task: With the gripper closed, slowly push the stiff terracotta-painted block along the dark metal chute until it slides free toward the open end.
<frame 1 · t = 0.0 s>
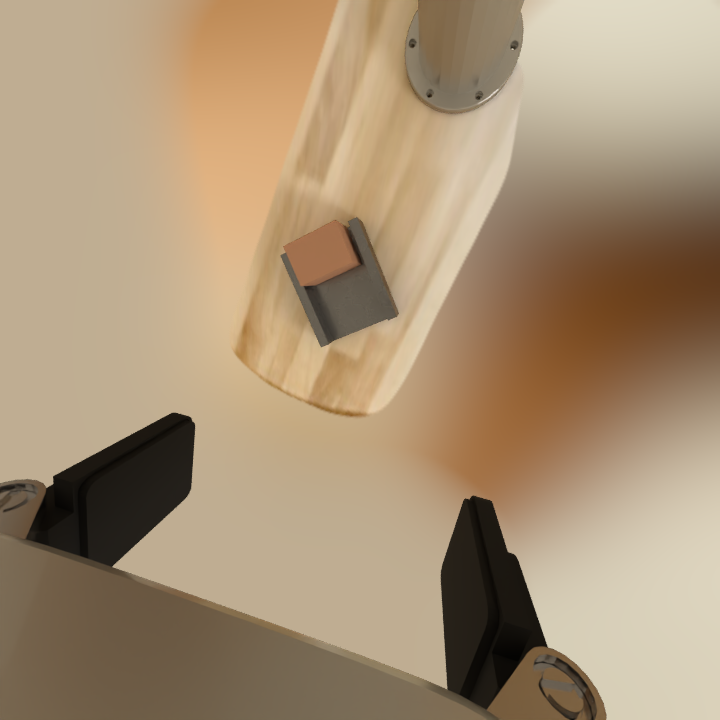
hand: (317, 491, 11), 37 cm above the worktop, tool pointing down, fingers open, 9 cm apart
chute: (344, 285, 46), on the worktop
block: (324, 255, 42), point 4 cm above the worktop, slide at 0.0 cm
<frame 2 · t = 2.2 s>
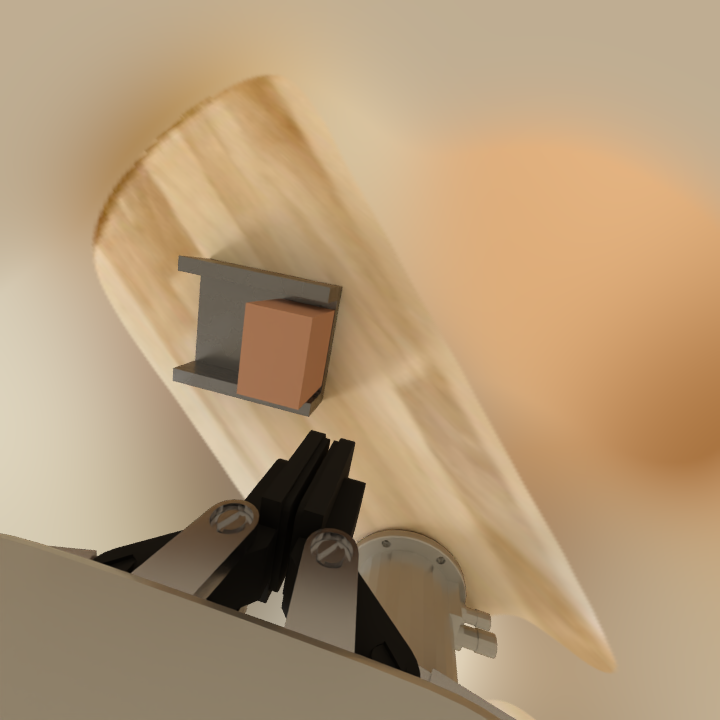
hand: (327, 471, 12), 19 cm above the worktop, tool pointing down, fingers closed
chute: (266, 331, 32), on the worktop
block: (288, 349, 27), point 4 cm above the worktop, slide at 0.0 cm
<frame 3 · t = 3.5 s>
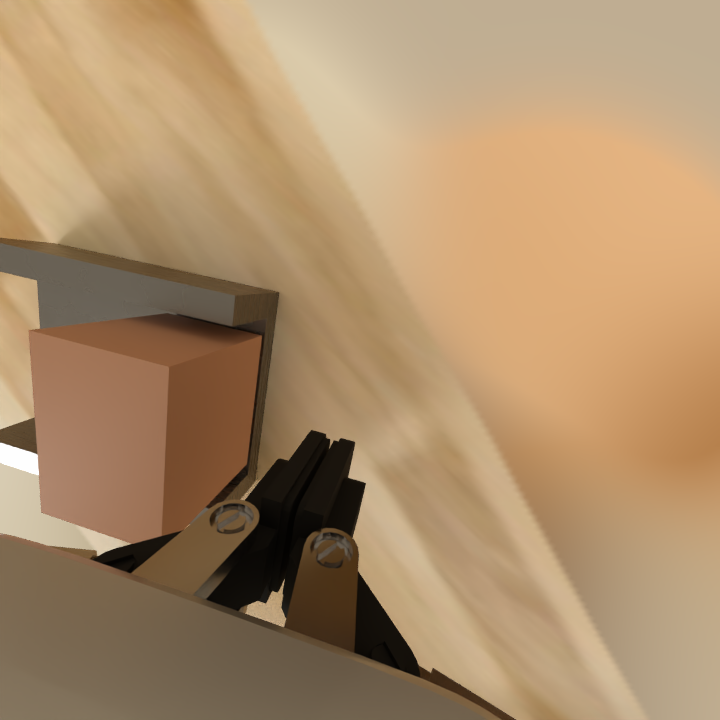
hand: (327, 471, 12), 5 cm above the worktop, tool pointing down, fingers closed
chute: (158, 366, 19), on the worktop
block: (164, 413, 14), point 4 cm above the worktop, slide at 0.0 cm
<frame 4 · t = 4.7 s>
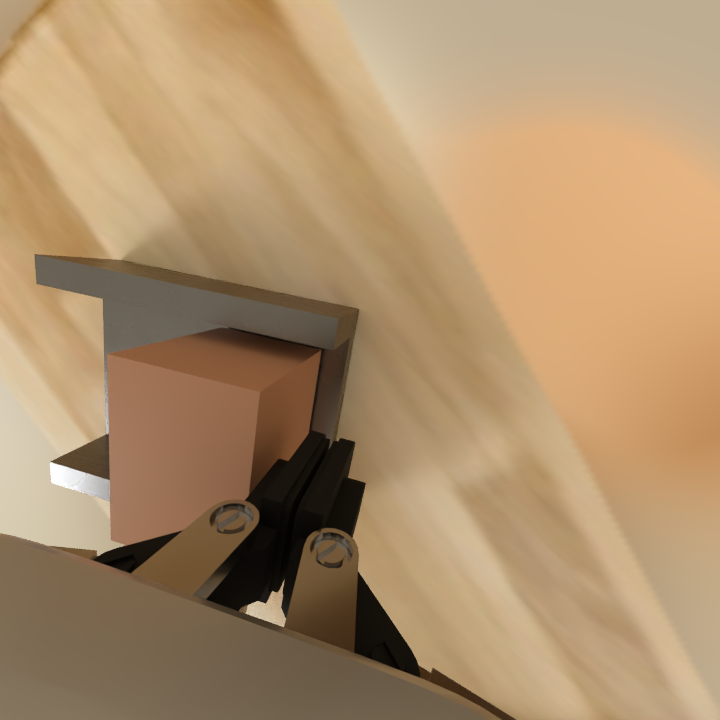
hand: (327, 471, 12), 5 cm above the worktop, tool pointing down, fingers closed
chute: (225, 385, 18), on the worktop
block: (228, 433, 14), point 4 cm above the worktop, slide at 1.2 cm, touching gripper
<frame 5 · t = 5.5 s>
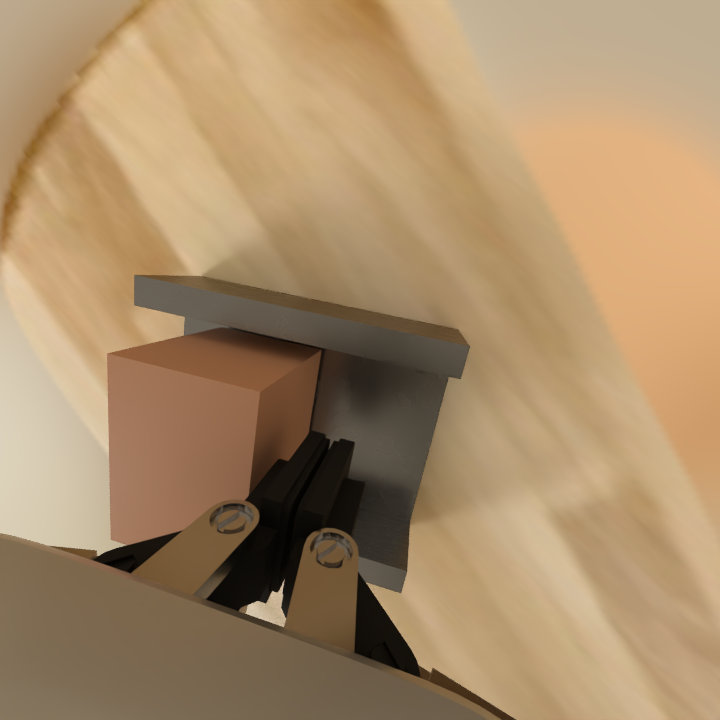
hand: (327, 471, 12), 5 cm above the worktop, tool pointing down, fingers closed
chute: (306, 405, 17), on the worktop
block: (228, 433, 14), point 4 cm above the worktop, slide at 5.8 cm, touching gripper
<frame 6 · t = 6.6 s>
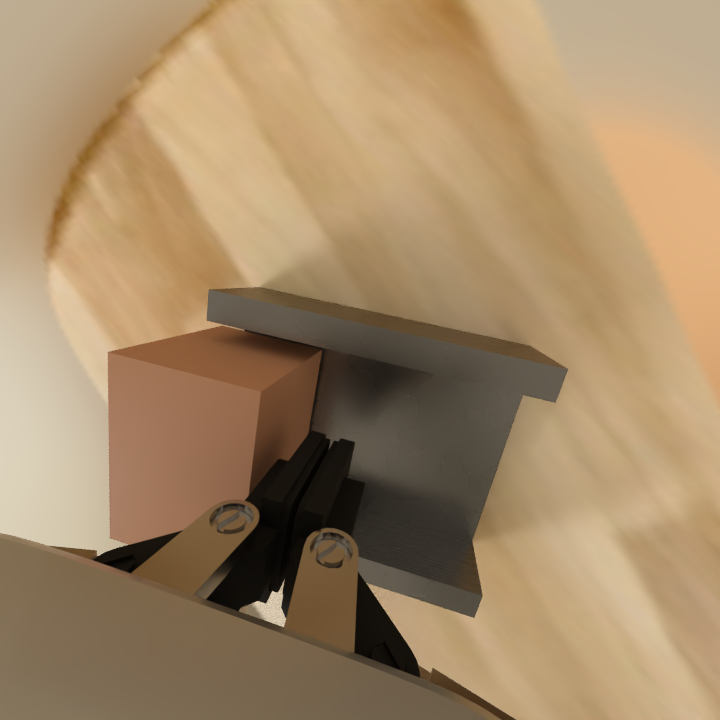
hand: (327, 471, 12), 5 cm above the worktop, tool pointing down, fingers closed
chute: (364, 420, 17), on the worktop
block: (228, 432, 14), point 4 cm above the worktop, slide at 9.0 cm, touching gripper
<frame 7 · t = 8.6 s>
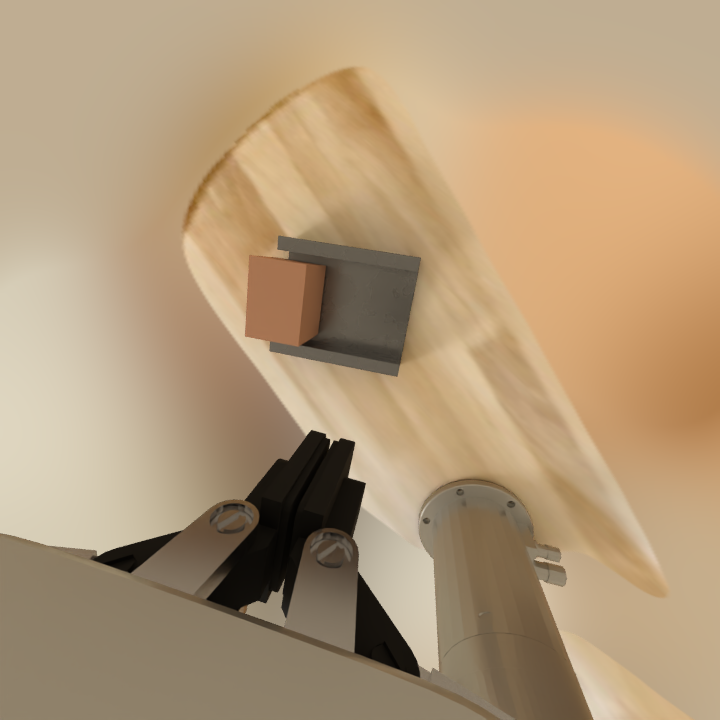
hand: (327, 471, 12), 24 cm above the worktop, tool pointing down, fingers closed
chute: (348, 303, 35), on the worktop
block: (287, 299, 31), point 4 cm above the worktop, slide at 9.0 cm
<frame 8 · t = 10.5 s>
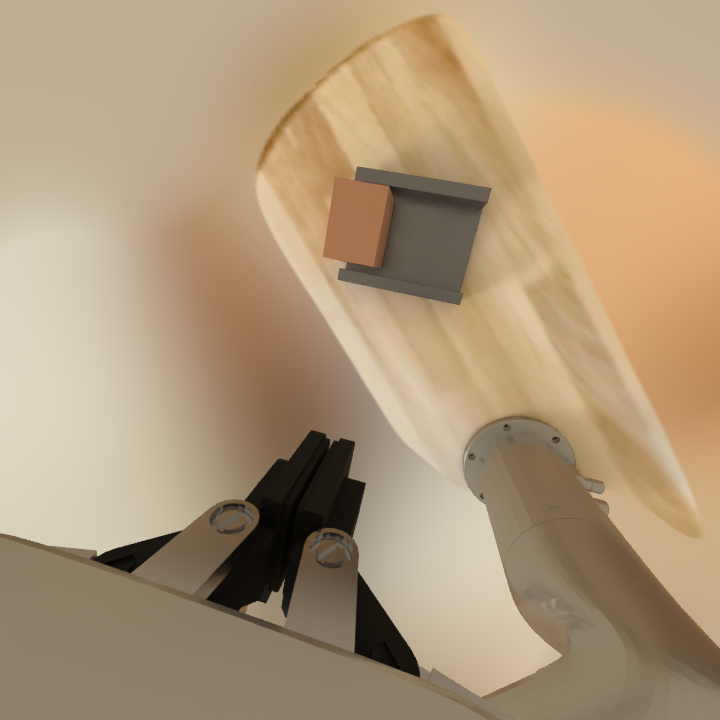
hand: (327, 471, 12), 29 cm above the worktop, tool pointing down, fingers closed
chute: (410, 241, 37), on the worktop
block: (360, 227, 34), point 4 cm above the worktop, slide at 9.0 cm
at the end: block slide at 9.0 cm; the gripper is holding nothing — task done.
